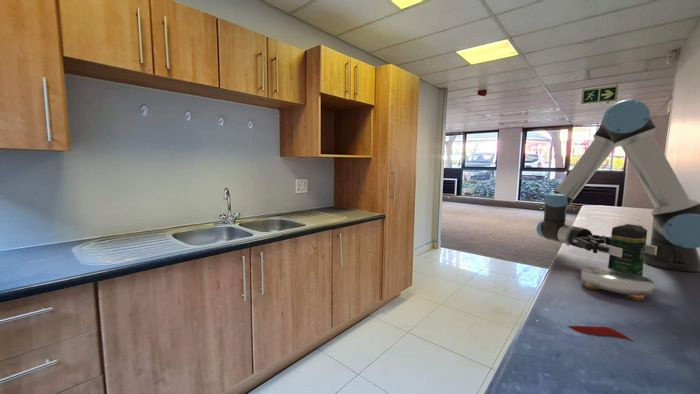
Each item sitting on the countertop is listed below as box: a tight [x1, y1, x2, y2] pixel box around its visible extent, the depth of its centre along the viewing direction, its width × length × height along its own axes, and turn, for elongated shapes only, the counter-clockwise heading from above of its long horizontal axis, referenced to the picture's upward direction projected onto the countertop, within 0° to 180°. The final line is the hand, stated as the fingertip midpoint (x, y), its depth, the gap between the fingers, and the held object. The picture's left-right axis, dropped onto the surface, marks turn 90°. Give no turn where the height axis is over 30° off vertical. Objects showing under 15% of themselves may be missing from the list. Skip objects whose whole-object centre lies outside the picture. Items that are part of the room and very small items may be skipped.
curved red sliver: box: [567, 325, 635, 343], centre depth 65 cm, size 12×5×2 cm, turn 50°
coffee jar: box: [607, 223, 648, 276], centre depth 95 cm, size 10×8×19 cm
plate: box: [580, 266, 655, 302], centre depth 88 cm, size 16×16×4 cm
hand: (639, 251), depth 92 cm, fingers open, 13 cm apart
